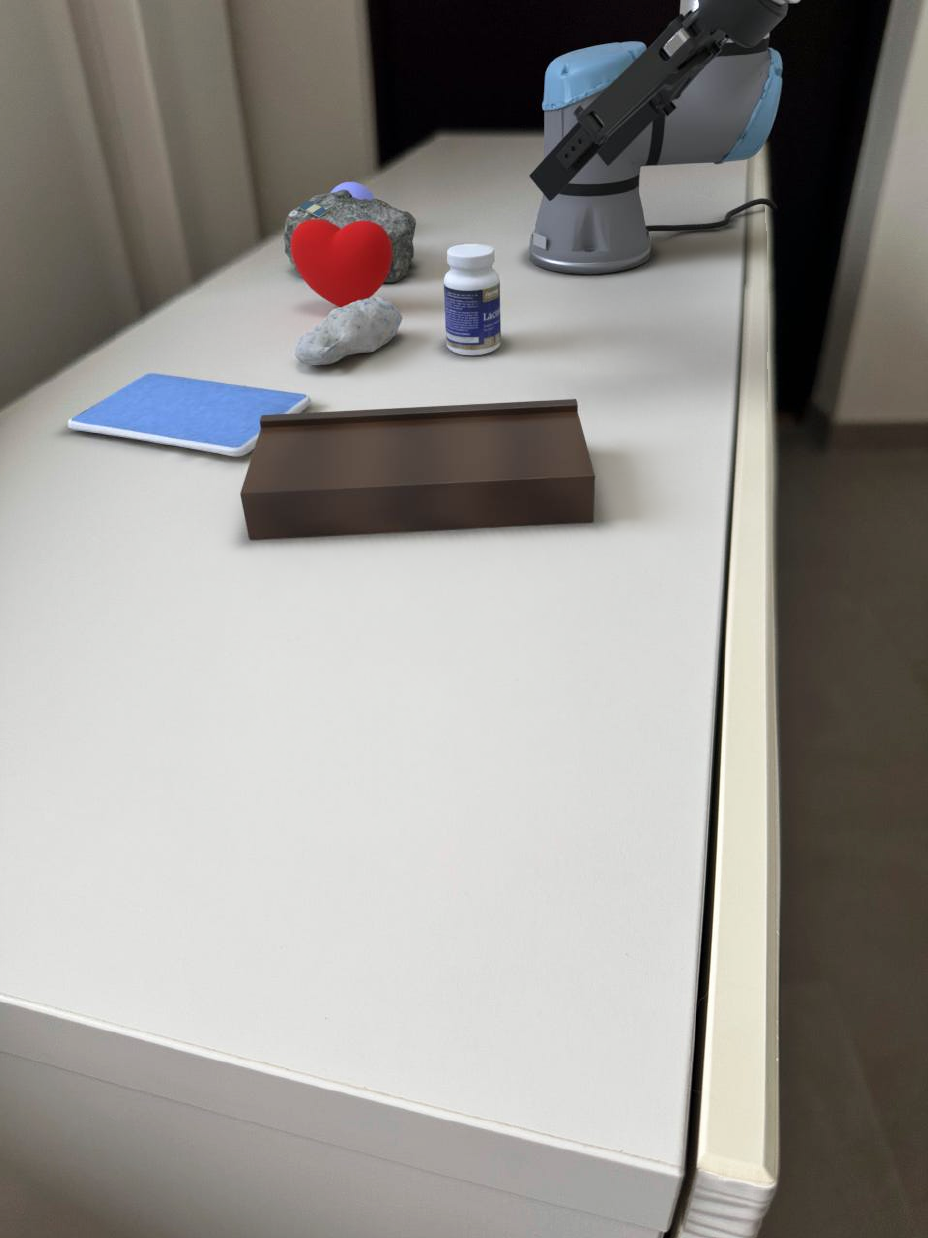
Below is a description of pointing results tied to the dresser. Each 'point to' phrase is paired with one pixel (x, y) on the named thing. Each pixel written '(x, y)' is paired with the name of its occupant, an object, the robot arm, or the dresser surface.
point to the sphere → (355, 190)
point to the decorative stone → (350, 331)
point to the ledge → (418, 470)
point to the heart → (342, 259)
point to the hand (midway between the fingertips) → (571, 170)
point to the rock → (349, 209)
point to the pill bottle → (472, 300)
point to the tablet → (188, 413)
